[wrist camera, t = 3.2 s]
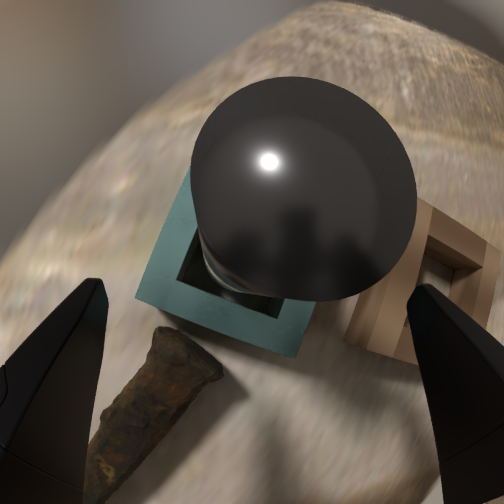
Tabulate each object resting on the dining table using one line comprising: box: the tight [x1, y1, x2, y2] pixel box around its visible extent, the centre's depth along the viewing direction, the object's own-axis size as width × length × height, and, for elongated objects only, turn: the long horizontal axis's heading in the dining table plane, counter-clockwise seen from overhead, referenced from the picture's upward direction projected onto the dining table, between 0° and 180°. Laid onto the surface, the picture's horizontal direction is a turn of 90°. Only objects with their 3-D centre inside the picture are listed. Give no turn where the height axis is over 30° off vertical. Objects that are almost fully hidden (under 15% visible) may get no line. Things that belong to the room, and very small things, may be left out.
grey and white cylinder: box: [190, 77, 417, 302], centre depth 11 cm, size 4×4×13 cm
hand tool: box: [83, 326, 224, 504], centre depth 14 cm, size 19×4×5 cm, turn 141°
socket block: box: [135, 166, 316, 359], centre depth 16 cm, size 8×8×3 cm
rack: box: [343, 197, 501, 365], centre depth 18 cm, size 9×9×3 cm
